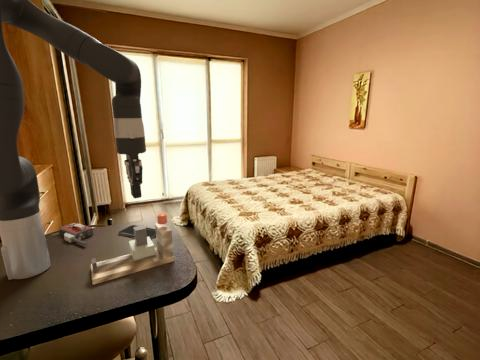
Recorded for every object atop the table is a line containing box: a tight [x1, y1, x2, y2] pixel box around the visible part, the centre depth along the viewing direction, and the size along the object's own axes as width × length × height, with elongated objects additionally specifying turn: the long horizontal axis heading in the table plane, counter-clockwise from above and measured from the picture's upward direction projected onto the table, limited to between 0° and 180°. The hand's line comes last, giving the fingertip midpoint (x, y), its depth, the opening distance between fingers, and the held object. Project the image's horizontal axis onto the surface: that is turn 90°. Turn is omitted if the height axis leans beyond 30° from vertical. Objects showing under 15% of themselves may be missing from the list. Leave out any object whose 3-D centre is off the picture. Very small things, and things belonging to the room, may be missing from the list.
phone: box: [118, 224, 156, 240], centre depth 98 cm, size 8×1×15 cm
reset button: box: [156, 213, 168, 224], centre depth 79 cm, size 3×3×2 cm
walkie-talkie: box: [57, 222, 94, 246], centre depth 95 cm, size 9×4×20 cm
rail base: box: [90, 222, 175, 285], centre depth 76 cm, size 22×9×10 cm, turn 121°
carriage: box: [128, 224, 156, 260], centre depth 77 cm, size 6×7×8 cm
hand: (136, 196), depth 74 cm, fingers closed
